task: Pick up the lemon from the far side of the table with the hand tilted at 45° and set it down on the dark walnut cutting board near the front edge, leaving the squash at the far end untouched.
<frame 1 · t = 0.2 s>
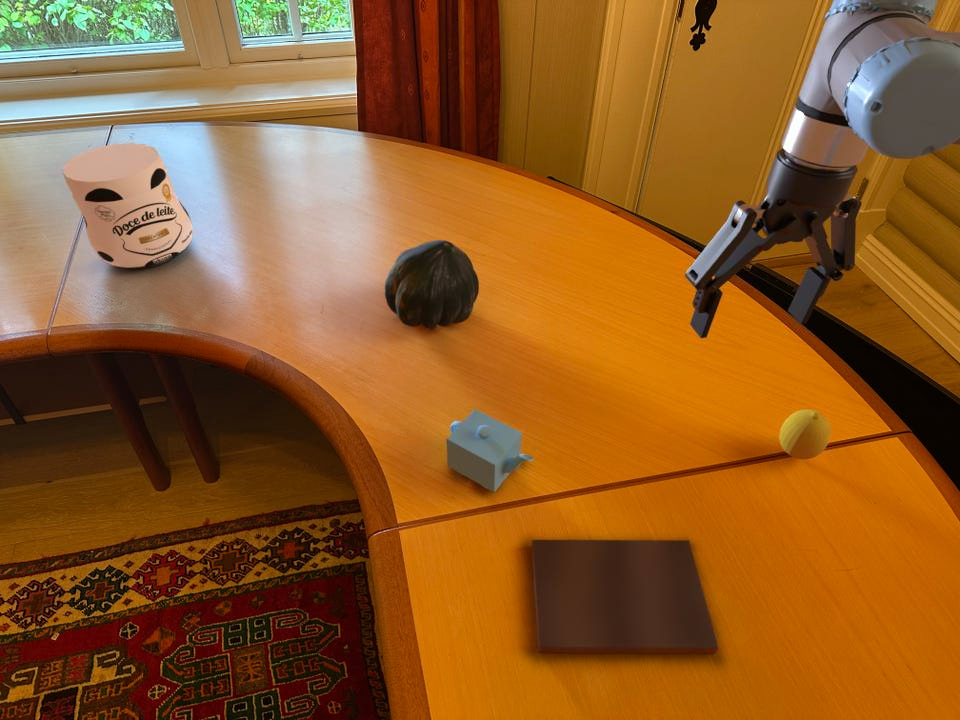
hand: (748, 324, 74), 17 cm above the table, tool pointing down, fingers open, 13 cm apart
knobbed blue-grey cube: (490, 471, 78), on the table
cutting board: (617, 596, 66), on the table
lemon: (792, 455, 80), on the table
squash: (434, 314, 102), on the table
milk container: (151, 251, 116), on the table
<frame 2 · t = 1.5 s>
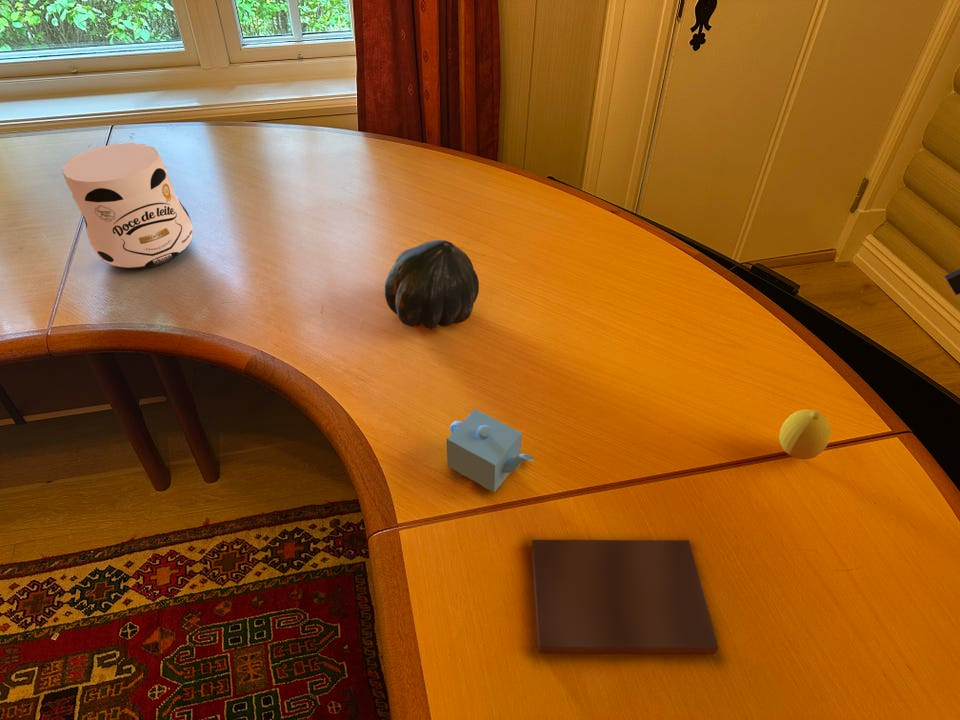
nothing on the table moved.
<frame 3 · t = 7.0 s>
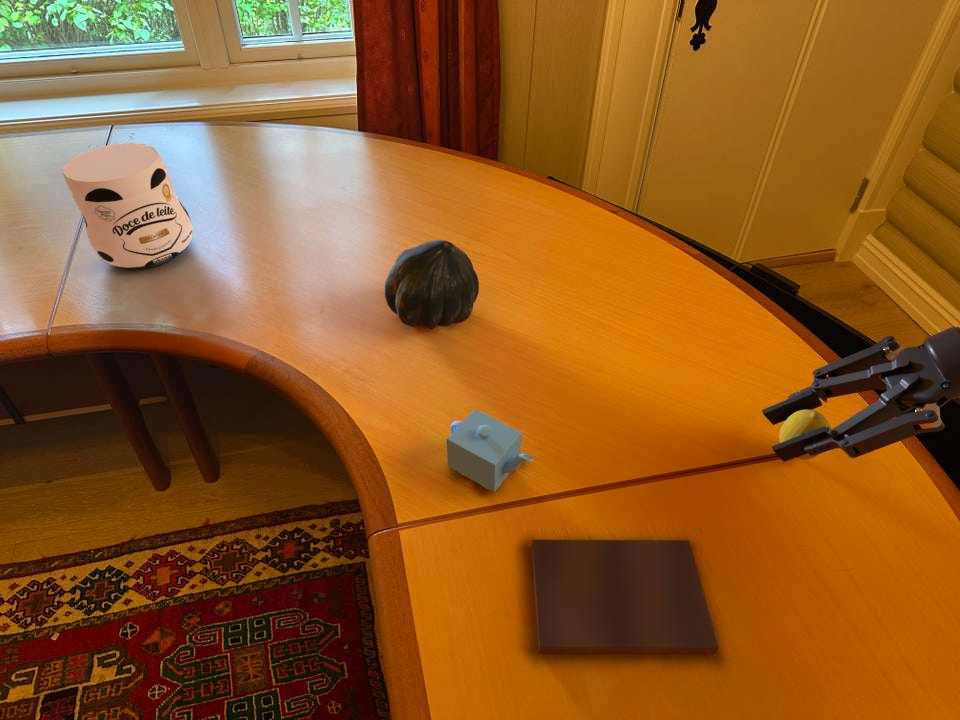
hand: (772, 435, 78), 3 cm above the table, tool tilted 45°, fingers closed on lemon, 5 cm apart
lemon: (792, 455, 80), on the table, touching gripper
everything else where it was.
when the fingers open (5 cm above the table, at t = 16.0 s): lemon stays where it is, resting on cutting board.
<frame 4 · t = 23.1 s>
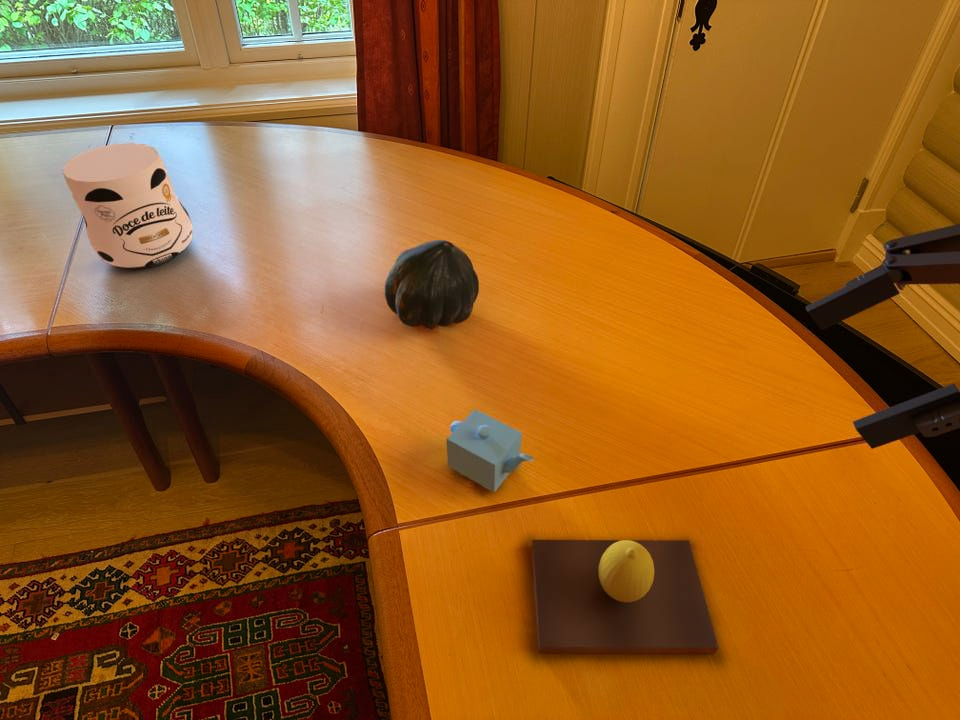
hand: (834, 371, 49), 30 cm above the table, tool tilted 45°, fingers open, 13 cm apart
lemon: (619, 590, 65), point 1 cm above the table, touching cutting board
everything else where it was.
at the end: lemon inside the target area on the cutting board (0.1 cm from its centre), point 1.3 cm above the cutting board's base; the gripper is holding nothing; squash moved 0.2 cm from its start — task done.
